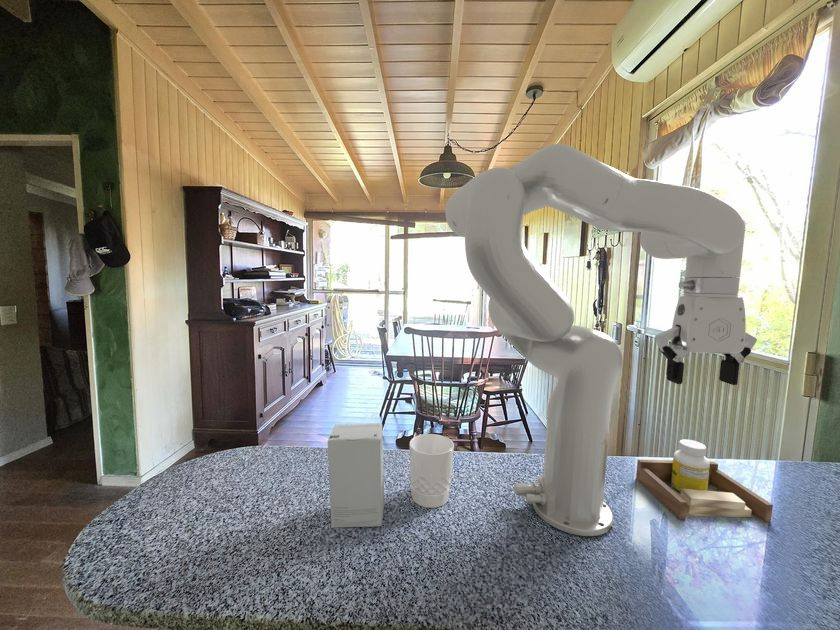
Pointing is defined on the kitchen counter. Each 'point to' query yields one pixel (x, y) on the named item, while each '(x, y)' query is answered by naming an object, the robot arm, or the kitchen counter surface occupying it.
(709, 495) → the top offcut
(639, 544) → the kitchen counter surface
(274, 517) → the kitchen counter surface
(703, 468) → the supplement bottle
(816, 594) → the kitchen counter surface
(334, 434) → the skincare box
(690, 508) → the middle offcut
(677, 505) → the walnut rack
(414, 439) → the white cup
